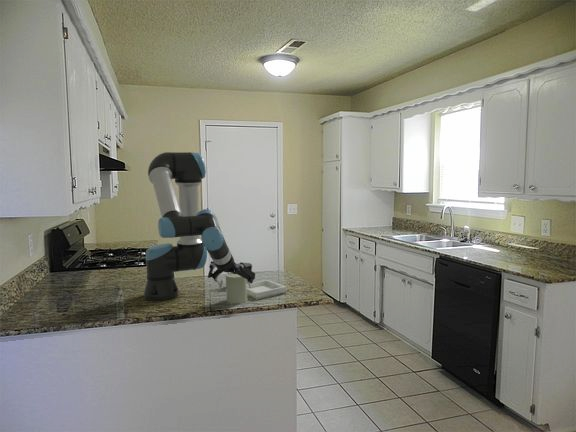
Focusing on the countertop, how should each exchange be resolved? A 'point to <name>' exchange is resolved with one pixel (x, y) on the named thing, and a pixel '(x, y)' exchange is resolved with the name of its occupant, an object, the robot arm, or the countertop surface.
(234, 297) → the can
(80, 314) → the countertop surface
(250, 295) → the bin
